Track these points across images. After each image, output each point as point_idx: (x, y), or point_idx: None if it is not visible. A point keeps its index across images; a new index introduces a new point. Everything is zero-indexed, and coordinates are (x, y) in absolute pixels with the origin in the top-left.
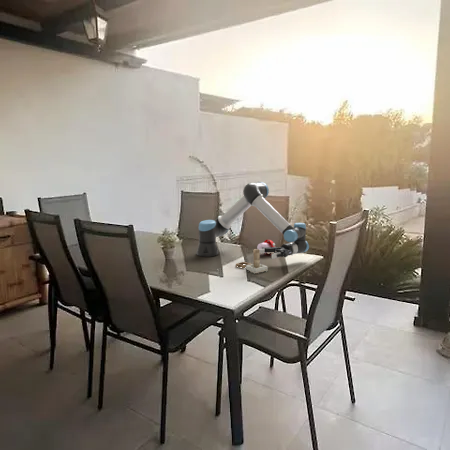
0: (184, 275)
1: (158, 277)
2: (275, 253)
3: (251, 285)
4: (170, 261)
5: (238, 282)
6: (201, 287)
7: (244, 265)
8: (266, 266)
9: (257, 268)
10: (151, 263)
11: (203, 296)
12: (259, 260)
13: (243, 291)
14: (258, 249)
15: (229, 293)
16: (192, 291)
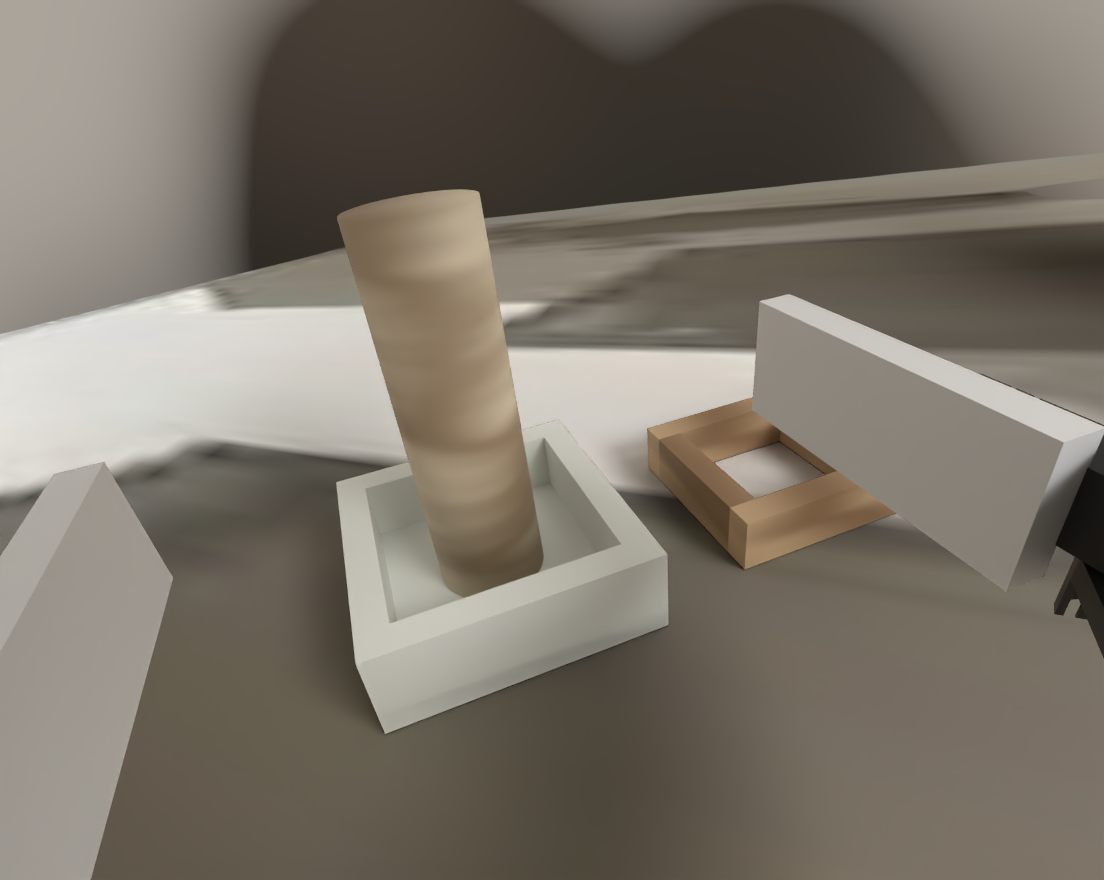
0: (577, 251)
1: (580, 216)
2: (4, 569)
3: (82, 447)
4: (940, 204)
5: (238, 396)
6: (317, 291)
7: (661, 439)
8: (353, 640)
9: (339, 496)
10: (870, 183)
11: (189, 298)
12: (413, 449)
13: (46, 399)
14: (400, 213)
15: (106, 354)
16: (291, 277)
